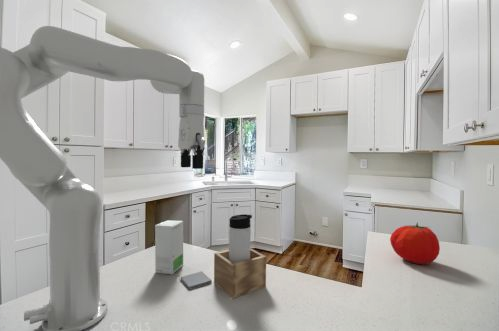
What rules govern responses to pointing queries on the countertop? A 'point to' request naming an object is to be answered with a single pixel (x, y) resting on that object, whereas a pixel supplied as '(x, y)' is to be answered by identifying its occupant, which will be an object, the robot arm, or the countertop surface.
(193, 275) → the slate coaster
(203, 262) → the countertop surface
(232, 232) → the travel mug
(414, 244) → the tomato
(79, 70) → the robot arm
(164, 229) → the skincare box
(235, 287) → the open wooden box
